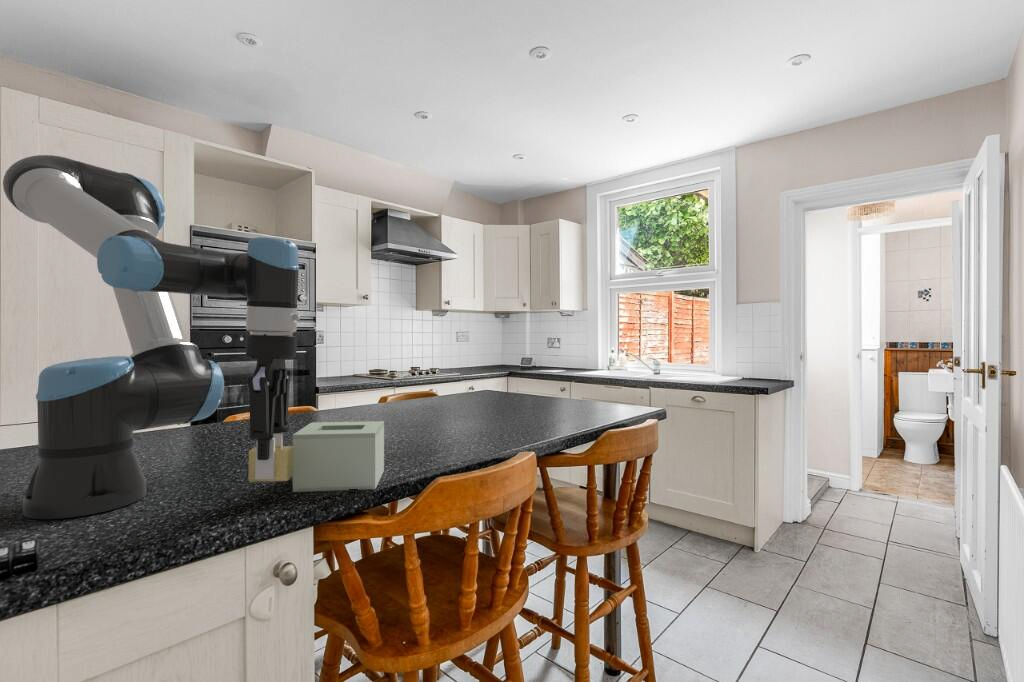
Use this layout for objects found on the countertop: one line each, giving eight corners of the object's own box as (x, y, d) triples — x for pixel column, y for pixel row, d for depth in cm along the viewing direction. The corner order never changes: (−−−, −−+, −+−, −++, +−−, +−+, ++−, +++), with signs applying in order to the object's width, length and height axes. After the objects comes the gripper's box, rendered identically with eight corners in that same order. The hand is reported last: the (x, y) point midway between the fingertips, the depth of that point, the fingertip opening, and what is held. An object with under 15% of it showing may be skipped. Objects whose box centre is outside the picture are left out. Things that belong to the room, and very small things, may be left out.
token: (248, 481, 80) (248, 451, 80) (255, 475, 83) (255, 446, 83) (287, 480, 81) (287, 450, 81) (293, 475, 84) (293, 446, 84)
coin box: (292, 492, 86) (292, 434, 86) (311, 472, 98) (311, 422, 98) (375, 489, 88) (375, 433, 88) (384, 470, 100) (384, 421, 99)
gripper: (279, 335, 74) (276, 490, 74) (309, 333, 90) (306, 461, 90) (225, 333, 73) (223, 491, 74) (265, 332, 89) (263, 461, 89)
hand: (269, 474), depth 82 cm, fingers closed on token, 3 cm apart
